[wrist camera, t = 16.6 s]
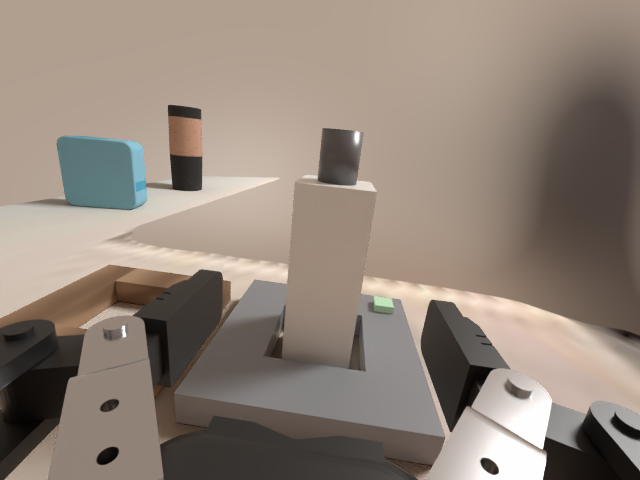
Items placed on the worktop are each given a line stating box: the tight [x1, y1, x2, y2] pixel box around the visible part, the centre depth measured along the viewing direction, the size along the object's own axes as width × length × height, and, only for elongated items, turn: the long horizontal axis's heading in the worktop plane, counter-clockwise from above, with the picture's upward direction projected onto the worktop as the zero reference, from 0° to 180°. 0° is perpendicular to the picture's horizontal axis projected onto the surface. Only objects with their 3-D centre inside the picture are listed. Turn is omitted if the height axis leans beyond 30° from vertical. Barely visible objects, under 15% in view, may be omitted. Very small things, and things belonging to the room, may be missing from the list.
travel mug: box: [168, 105, 202, 191], centre depth 77 cm, size 8×8×20 cm
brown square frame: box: [0, 265, 231, 398], centre depth 23 cm, size 12×12×2 cm
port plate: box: [174, 280, 445, 465], centre depth 22 cm, size 14×14×3 cm
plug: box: [282, 128, 377, 369], centre depth 20 cm, size 4×4×16 cm
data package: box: [57, 136, 147, 210], centre depth 55 cm, size 12×4×12 cm, turn 95°
